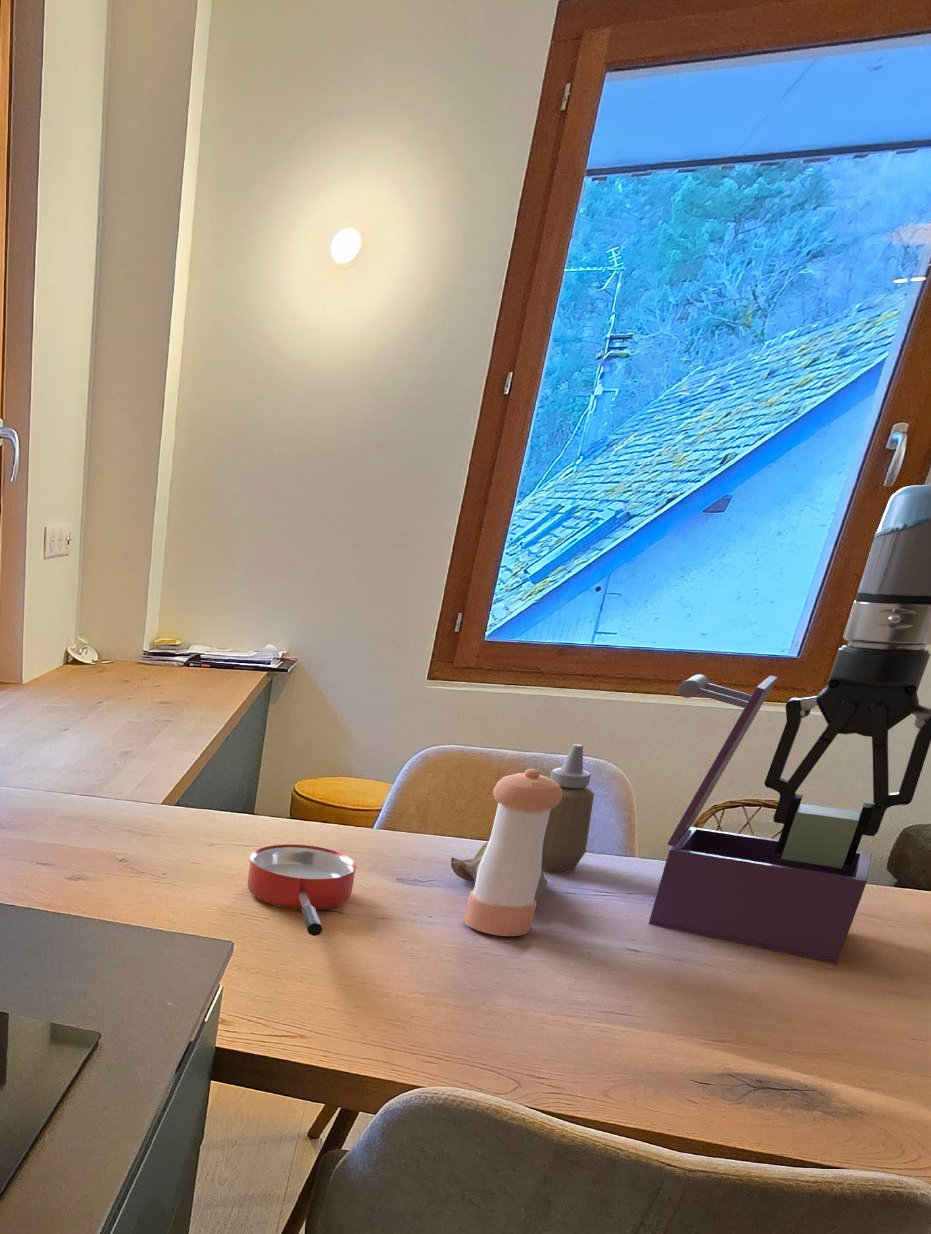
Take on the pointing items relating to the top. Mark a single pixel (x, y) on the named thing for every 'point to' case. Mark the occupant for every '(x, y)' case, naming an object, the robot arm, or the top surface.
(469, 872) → the ceramic sculpture
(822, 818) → the block
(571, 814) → the squeeze bottle
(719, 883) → the box
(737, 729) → the lid
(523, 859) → the salt shaker
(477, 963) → the top surface
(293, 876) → the frying pan
